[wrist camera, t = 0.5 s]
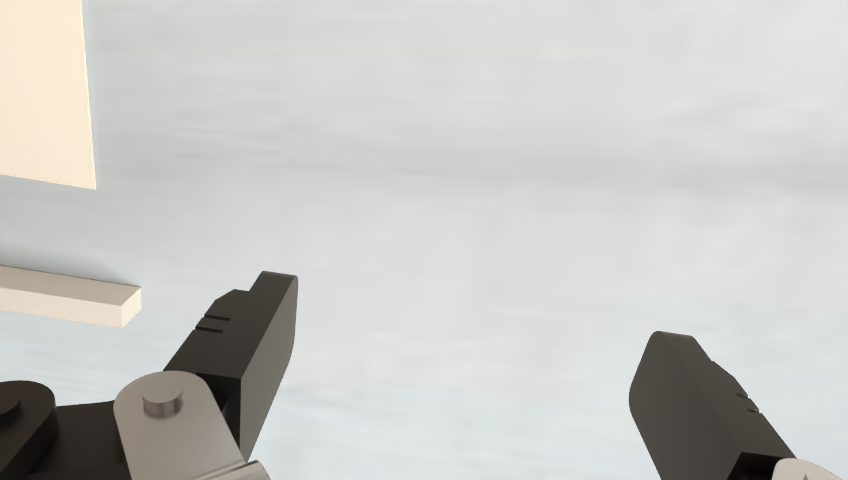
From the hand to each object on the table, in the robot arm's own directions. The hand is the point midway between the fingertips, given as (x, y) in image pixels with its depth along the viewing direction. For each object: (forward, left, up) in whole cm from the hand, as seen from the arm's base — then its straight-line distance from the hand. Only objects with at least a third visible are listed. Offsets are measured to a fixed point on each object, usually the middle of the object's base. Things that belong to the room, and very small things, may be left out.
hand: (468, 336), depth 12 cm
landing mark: (+3, -32, -28) cm, 43 cm away
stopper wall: (+19, -32, -28) cm, 47 cm away
